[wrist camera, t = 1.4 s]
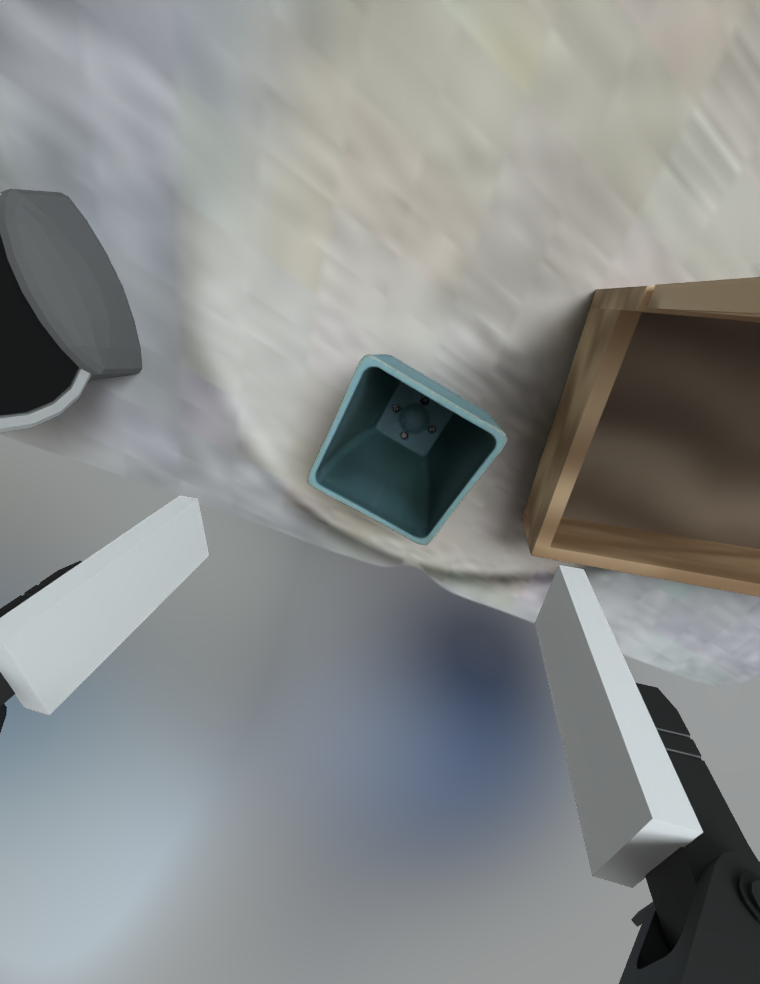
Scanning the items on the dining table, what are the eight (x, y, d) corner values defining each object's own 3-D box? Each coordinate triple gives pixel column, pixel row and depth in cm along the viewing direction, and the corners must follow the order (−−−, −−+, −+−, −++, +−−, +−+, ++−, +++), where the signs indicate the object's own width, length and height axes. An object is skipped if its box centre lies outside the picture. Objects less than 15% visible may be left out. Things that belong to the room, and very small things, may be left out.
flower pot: (498, 396, 26) (513, 438, 18) (434, 486, 30) (425, 550, 23) (393, 335, 25) (363, 350, 18) (344, 435, 30) (303, 483, 22)
